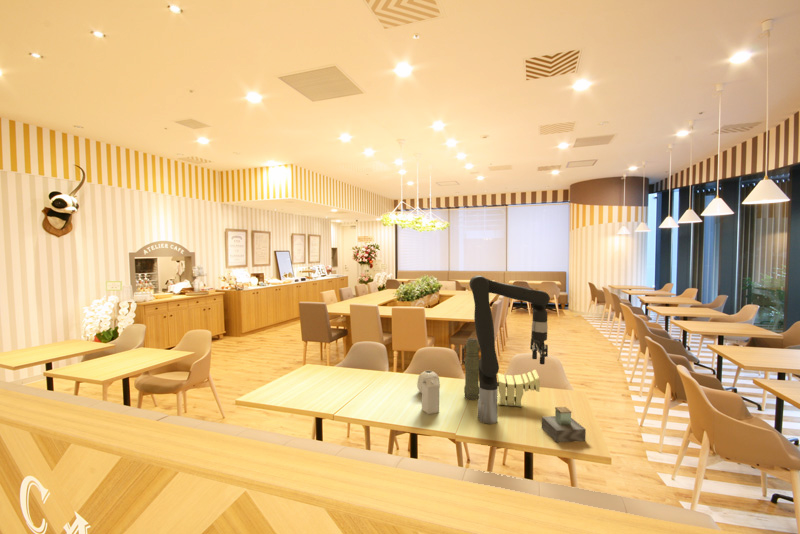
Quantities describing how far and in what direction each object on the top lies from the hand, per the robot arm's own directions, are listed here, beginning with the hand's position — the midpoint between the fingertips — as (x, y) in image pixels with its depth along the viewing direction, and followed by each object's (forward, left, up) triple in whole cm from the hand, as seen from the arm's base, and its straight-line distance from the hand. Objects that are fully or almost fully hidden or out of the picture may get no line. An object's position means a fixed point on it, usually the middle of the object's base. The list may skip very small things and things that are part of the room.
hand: (538, 361), depth 185 cm
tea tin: (+7, -13, -26) cm, 30 cm away
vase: (-49, +43, -32) cm, 72 cm away
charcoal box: (+7, -13, -32) cm, 35 cm away
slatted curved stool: (-4, +26, -32) cm, 41 cm away
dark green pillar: (-24, +35, -32) cm, 53 cm away
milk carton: (-52, +18, -32) cm, 64 cm away
